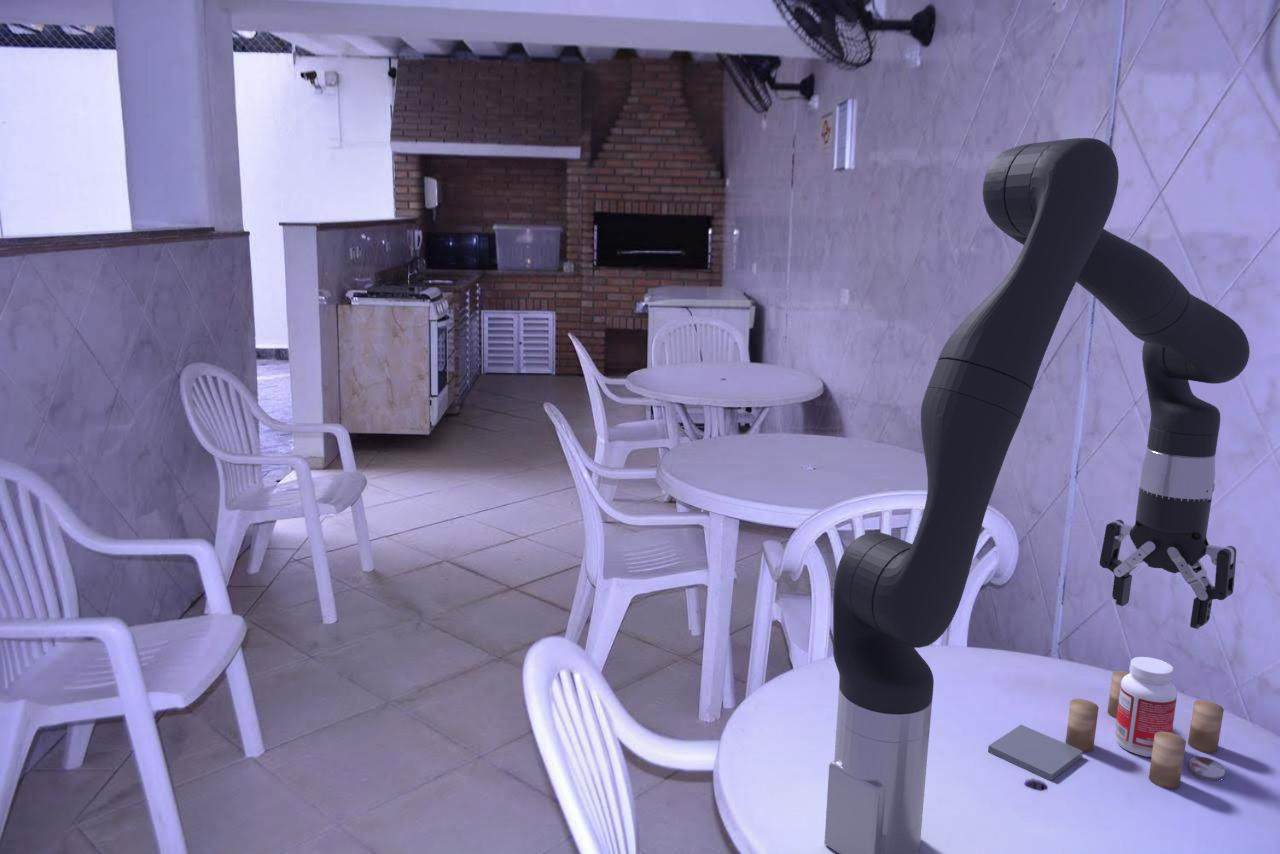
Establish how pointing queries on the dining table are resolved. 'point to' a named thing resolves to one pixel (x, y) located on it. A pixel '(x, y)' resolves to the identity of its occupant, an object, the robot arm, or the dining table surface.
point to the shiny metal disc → (1207, 768)
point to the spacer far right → (1115, 692)
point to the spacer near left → (1167, 760)
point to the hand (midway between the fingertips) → (1158, 615)
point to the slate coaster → (1035, 752)
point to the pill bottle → (1145, 705)
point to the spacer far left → (1205, 726)
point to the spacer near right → (1082, 724)
